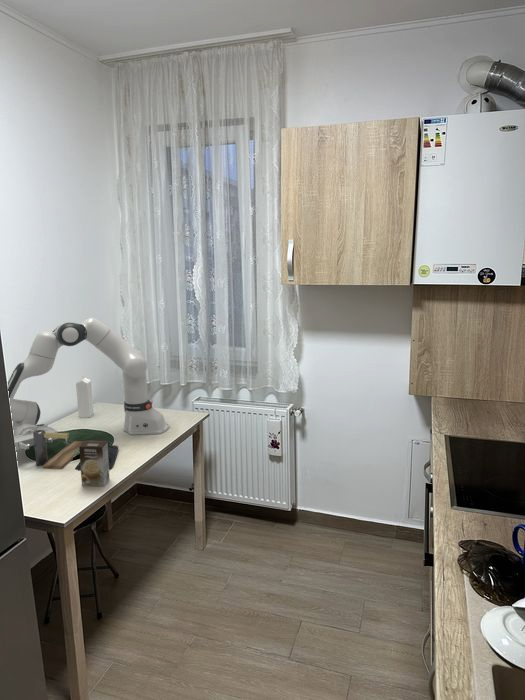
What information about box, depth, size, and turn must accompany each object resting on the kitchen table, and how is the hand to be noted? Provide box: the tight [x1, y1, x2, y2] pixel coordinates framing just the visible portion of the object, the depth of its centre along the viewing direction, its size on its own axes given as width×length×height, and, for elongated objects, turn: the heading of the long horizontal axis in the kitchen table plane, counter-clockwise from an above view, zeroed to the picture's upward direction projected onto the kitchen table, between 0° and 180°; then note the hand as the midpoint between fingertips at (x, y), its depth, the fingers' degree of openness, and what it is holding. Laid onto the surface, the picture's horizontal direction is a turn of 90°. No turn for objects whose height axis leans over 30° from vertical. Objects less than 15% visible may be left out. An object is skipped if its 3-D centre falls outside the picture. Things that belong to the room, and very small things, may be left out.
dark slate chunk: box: [74, 444, 119, 472], centre depth 210 cm, size 15×22×5 cm
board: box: [42, 440, 85, 470], centre depth 215 cm, size 8×26×1 cm, turn 174°
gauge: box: [33, 430, 70, 467], centre depth 205 cm, size 15×5×14 cm, turn 84°
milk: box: [75, 374, 94, 419], centre depth 263 cm, size 6×6×22 cm
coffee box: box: [79, 439, 110, 487], centre depth 189 cm, size 9×6×16 cm
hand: (39, 444), depth 206 cm, fingers open, 8 cm apart
